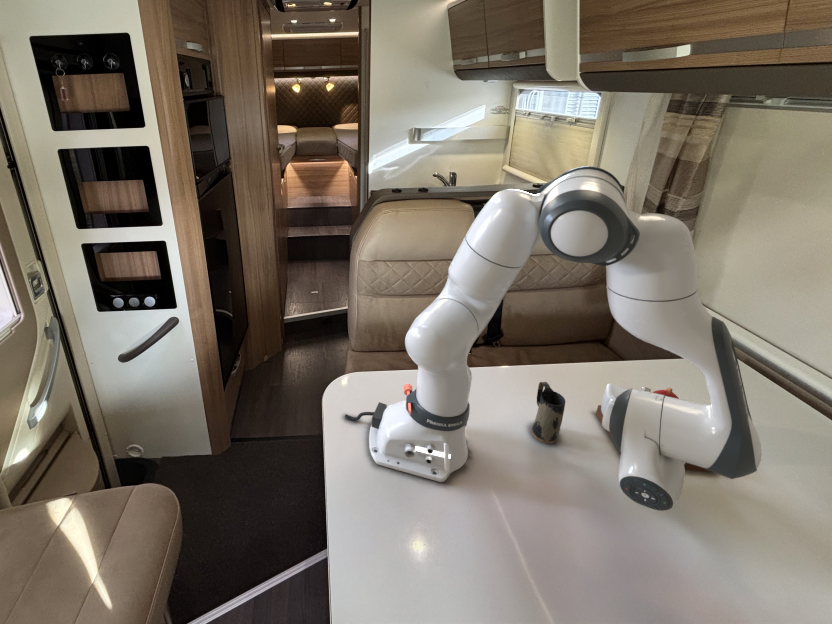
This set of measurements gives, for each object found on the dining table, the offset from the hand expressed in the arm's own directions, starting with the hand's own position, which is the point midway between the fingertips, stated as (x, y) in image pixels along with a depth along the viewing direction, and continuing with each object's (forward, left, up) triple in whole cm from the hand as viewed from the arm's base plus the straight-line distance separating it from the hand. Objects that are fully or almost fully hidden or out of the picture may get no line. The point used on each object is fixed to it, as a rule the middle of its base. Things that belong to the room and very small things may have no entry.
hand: (666, 397), depth 89 cm
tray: (+4, +5, -17) cm, 18 cm away
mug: (-20, +5, -17) cm, 27 cm away
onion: (-1, -1, -5) cm, 5 cm away
